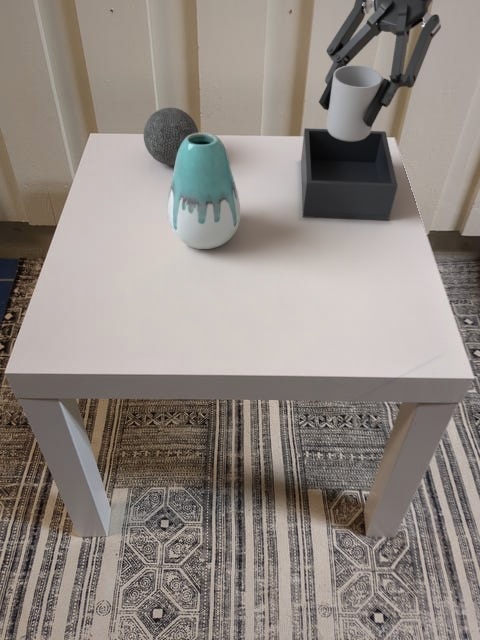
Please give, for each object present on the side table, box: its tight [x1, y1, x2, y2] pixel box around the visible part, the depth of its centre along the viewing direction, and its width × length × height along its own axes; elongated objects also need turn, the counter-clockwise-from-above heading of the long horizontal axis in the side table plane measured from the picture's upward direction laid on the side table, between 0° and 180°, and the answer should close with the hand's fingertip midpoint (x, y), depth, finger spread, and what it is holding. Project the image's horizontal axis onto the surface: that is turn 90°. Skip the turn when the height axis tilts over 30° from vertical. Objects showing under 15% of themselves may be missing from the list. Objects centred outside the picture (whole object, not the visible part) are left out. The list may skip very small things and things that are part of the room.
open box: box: [300, 127, 398, 222], centre depth 99 cm, size 17×15×7 cm
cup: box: [326, 64, 384, 142], centre depth 88 cm, size 7×10×9 cm
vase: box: [166, 132, 242, 250], centre depth 86 cm, size 12×12×18 cm
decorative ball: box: [143, 107, 199, 166], centre depth 103 cm, size 10×10×10 cm
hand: (344, 114), depth 87 cm, fingers closed on cup, 7 cm apart
